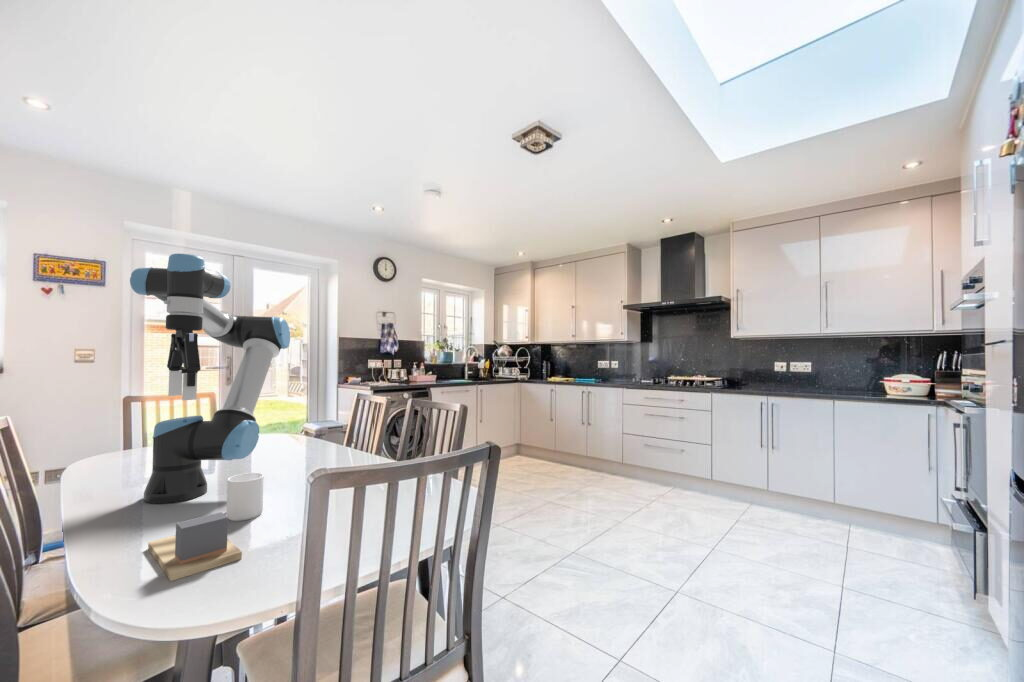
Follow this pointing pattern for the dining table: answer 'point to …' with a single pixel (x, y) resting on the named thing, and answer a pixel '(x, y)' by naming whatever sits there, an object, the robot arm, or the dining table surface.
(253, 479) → the cup
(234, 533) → the dining table surface
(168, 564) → the board
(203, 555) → the block
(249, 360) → the robot arm
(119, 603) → the dining table surface
